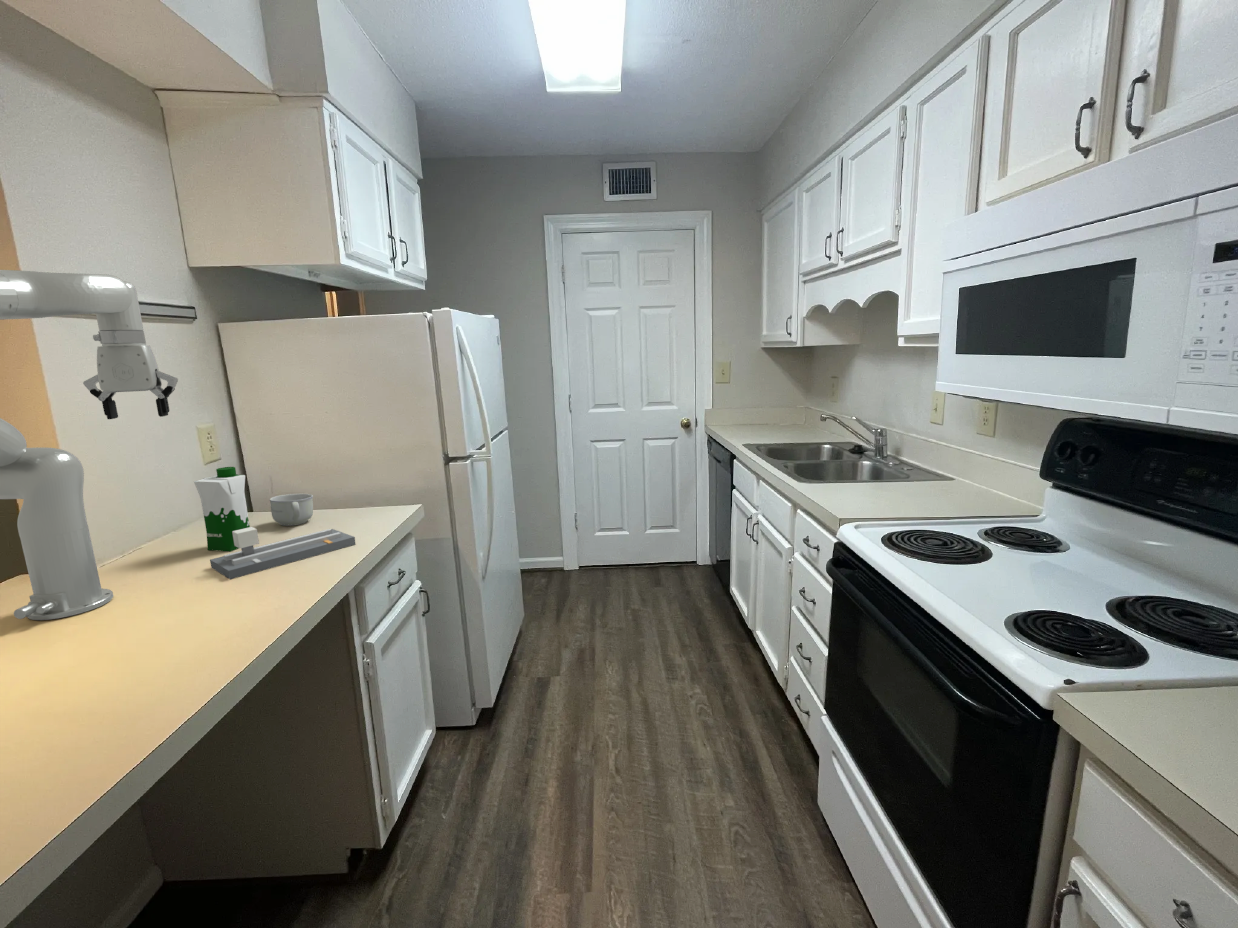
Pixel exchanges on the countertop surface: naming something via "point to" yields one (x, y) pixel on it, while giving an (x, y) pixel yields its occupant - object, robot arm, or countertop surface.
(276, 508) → the teacup
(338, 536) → the fader panel
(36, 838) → the countertop surface
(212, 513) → the milk carton
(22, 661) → the countertop surface
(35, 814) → the countertop surface
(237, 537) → the fader
